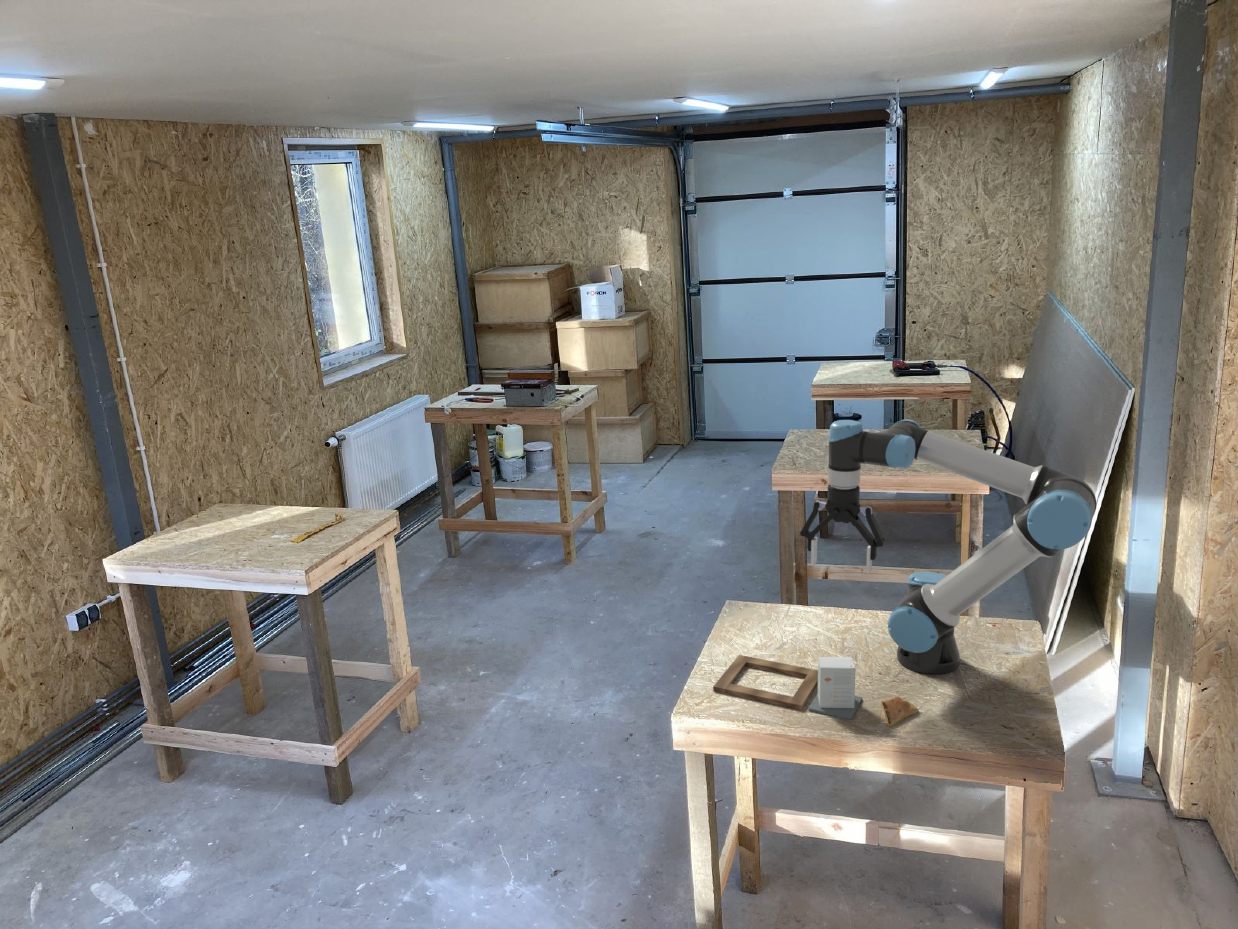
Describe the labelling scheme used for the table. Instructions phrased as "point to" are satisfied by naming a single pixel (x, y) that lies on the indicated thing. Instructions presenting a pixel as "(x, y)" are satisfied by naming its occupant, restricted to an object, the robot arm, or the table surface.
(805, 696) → the wooden picture frame
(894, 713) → the shard
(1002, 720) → the table surface
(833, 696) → the small box
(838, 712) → the pad
